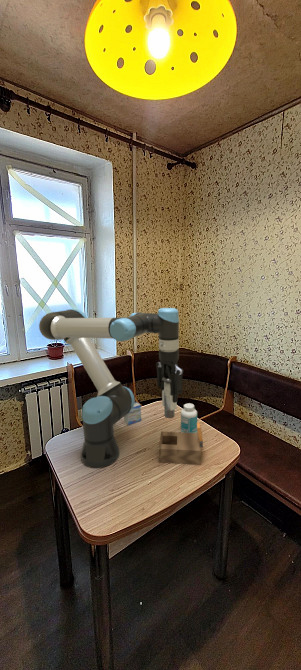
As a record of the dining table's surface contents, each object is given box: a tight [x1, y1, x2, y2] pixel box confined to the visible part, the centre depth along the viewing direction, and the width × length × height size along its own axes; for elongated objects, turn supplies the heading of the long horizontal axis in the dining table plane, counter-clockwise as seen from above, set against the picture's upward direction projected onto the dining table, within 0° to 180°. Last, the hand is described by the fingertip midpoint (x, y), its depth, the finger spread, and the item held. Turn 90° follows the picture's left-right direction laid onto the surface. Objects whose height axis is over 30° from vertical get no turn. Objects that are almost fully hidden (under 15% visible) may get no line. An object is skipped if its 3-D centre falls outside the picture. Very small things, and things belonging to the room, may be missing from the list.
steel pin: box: [162, 376, 176, 419], centre depth 105 cm, size 5×5×16 cm
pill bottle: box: [180, 402, 198, 433], centre depth 124 cm, size 8×7×14 cm
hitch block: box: [158, 430, 204, 466], centre depth 109 cm, size 17×12×8 cm
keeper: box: [197, 421, 204, 442], centre depth 107 cm, size 6×4×1 cm
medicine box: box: [123, 401, 142, 426], centre depth 135 cm, size 8×4×9 cm, turn 123°
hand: (169, 407), depth 106 cm, fingers closed on steel pin, 4 cm apart
